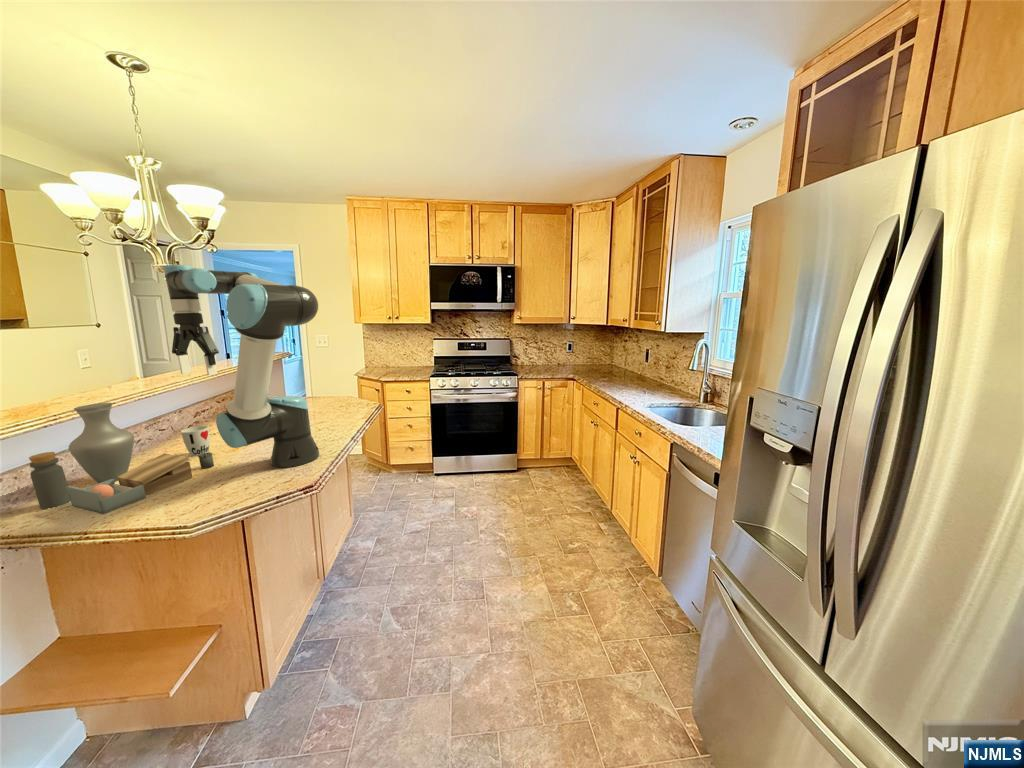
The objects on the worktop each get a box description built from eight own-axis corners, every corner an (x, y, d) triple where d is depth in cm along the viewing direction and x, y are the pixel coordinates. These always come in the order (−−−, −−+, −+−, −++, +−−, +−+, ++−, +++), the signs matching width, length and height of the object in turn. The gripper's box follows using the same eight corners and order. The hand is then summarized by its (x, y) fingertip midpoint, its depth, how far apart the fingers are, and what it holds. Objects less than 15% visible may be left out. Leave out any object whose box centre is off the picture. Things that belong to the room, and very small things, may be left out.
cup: (189, 459, 140) (184, 433, 138) (183, 455, 145) (178, 429, 143) (216, 452, 146) (211, 427, 144) (209, 448, 151) (204, 424, 149)
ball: (122, 490, 110) (105, 482, 106) (106, 507, 107) (88, 499, 103) (112, 488, 111) (95, 480, 108) (96, 504, 108) (78, 496, 105)
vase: (148, 475, 127) (131, 402, 122) (85, 493, 115) (63, 414, 110) (134, 467, 134) (118, 398, 130) (74, 483, 123) (53, 408, 118)
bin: (146, 497, 111) (141, 478, 110) (103, 514, 102) (97, 493, 101) (115, 491, 116) (110, 472, 115) (72, 506, 107) (66, 486, 106)
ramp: (193, 477, 124) (189, 456, 123) (144, 496, 112) (139, 473, 111) (169, 473, 128) (165, 453, 126) (120, 491, 116) (114, 468, 115)
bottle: (71, 503, 109) (57, 454, 106) (39, 511, 105) (24, 460, 102) (71, 497, 113) (58, 449, 110) (41, 505, 109) (26, 455, 106)
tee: (216, 465, 134) (214, 452, 133) (205, 469, 130) (203, 456, 129) (209, 464, 135) (207, 451, 134) (198, 468, 131) (195, 455, 131)
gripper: (224, 311, 129) (235, 373, 133) (175, 313, 137) (187, 371, 141) (200, 311, 122) (212, 377, 126) (150, 313, 130) (163, 374, 134)
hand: (199, 374), depth 133 cm, fingers open, 13 cm apart
